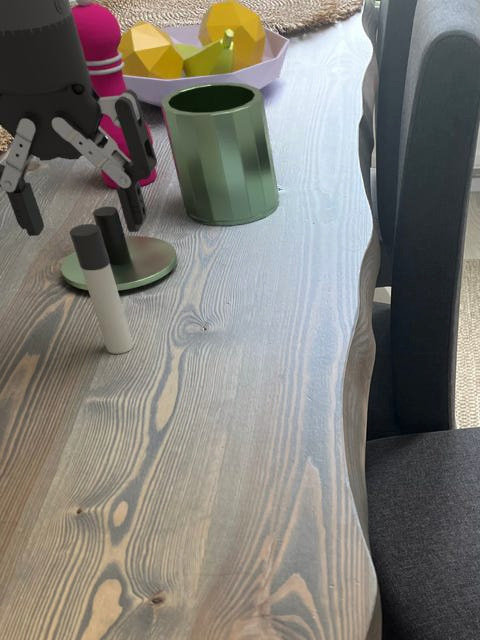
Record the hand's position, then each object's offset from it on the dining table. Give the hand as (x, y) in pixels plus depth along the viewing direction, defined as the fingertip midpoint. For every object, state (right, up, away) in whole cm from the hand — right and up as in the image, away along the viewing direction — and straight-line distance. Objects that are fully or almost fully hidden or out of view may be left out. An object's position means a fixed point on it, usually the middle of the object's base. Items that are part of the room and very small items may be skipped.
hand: (86, 230), depth 86 cm
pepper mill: (-9, +21, +37) cm, 43 cm away
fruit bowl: (-6, +42, +58) cm, 72 cm away
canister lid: (-4, +4, +19) cm, 19 cm away
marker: (0, -8, +8) cm, 11 cm away
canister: (+5, +15, +30) cm, 34 cm away
